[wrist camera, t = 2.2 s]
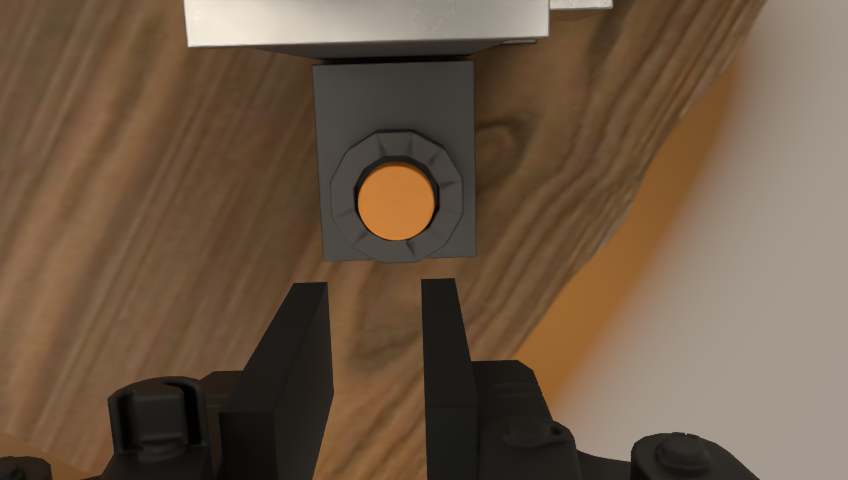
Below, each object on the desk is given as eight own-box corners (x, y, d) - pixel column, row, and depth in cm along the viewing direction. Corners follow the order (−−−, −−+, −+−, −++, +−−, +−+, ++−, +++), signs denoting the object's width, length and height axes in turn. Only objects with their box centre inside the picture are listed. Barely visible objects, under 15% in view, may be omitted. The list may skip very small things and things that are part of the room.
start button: (358, 162, 36) (356, 166, 34) (432, 160, 36) (433, 164, 34) (362, 234, 37) (359, 242, 35) (434, 231, 37) (435, 239, 35)
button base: (319, 65, 39) (306, 64, 34) (469, 61, 39) (477, 59, 34) (330, 247, 41) (319, 270, 36) (471, 243, 41) (479, 265, 37)
